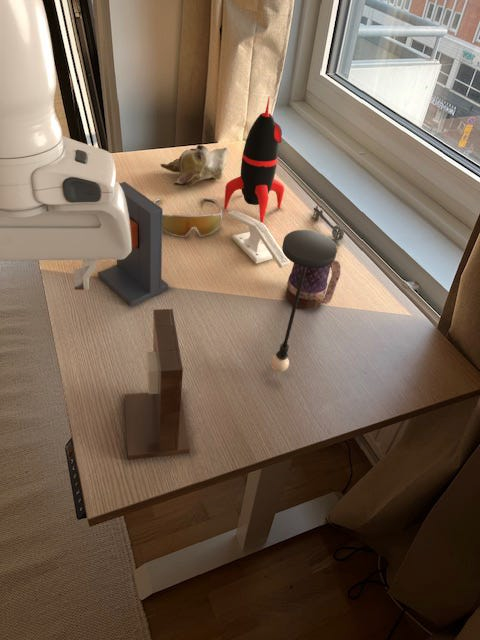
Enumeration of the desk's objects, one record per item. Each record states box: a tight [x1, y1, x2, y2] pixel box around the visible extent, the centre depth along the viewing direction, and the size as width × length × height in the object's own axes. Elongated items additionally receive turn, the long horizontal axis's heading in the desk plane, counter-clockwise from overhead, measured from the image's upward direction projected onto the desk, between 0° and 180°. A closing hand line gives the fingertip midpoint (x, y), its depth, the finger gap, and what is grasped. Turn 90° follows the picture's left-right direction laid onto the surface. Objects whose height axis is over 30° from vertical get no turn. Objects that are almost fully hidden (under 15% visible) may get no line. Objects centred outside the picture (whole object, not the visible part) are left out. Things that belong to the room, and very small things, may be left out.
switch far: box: [129, 218, 138, 249], centre depth 85 cm, size 1×3×4 cm, turn 44°
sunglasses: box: [153, 198, 223, 238], centre depth 109 cm, size 14×15×5 cm
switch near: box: [146, 350, 158, 394], centre depth 64 cm, size 1×3×4 cm, turn 12°
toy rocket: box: [223, 97, 285, 224], centre depth 108 cm, size 10×10×25 cm
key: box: [312, 205, 345, 242], centre depth 112 cm, size 12×1×3 cm, turn 24°
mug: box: [285, 259, 342, 310], centre depth 90 cm, size 10×7×12 cm
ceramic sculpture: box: [160, 144, 229, 188], centre depth 120 cm, size 11×9×15 cm
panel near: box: [124, 308, 191, 461], centre depth 66 cm, size 8×10×17 cm
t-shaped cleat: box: [227, 209, 291, 269], centre depth 103 cm, size 4×20×5 cm, turn 31°
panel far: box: [97, 181, 169, 307], centre depth 87 cm, size 8×10×17 cm
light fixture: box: [271, 229, 338, 373], centre depth 72 cm, size 7×7×25 cm
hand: (35, 287), depth 55 cm, fingers open, 8 cm apart
